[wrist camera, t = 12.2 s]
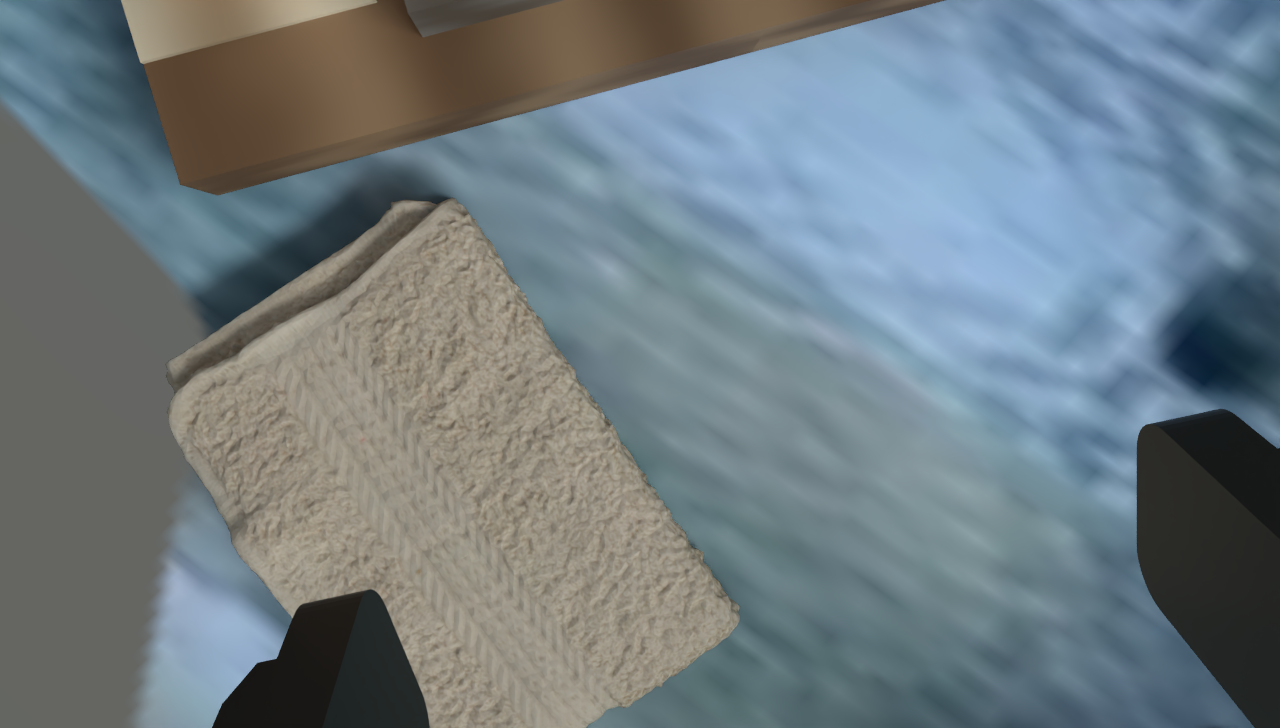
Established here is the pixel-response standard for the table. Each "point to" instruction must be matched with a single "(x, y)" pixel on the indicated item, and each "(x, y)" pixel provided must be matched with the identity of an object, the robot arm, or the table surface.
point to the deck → (418, 67)
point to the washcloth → (445, 480)
